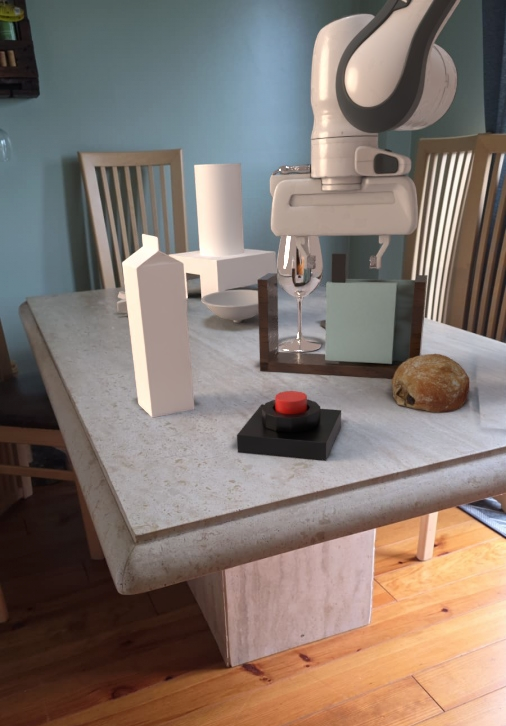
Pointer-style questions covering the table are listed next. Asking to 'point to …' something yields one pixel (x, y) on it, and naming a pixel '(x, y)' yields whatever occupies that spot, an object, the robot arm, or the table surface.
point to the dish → (233, 304)
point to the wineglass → (298, 283)
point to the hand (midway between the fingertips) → (342, 268)
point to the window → (359, 317)
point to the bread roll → (430, 383)
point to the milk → (159, 329)
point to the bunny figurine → (122, 302)
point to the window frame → (404, 348)
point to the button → (291, 402)
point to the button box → (290, 432)
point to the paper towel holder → (222, 234)
